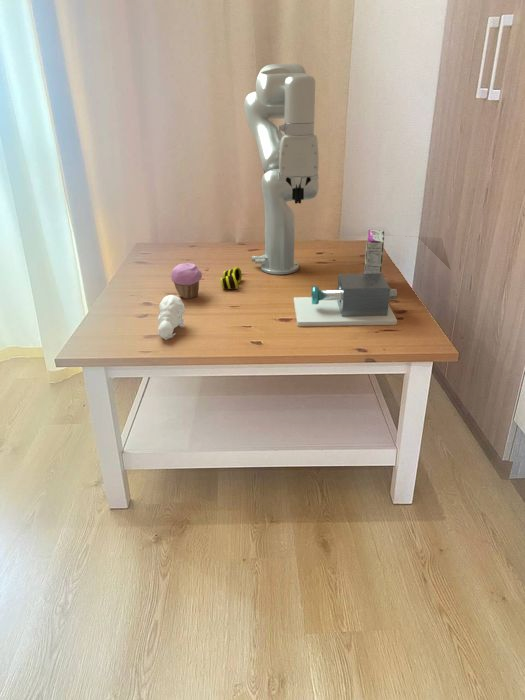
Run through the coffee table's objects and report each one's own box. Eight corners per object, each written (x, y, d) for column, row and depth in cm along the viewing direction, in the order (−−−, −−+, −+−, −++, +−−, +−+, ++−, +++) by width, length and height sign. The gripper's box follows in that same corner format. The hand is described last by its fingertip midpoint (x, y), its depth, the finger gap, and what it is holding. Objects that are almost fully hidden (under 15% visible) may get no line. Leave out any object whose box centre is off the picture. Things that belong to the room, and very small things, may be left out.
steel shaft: (312, 307, 144) (313, 290, 142) (311, 300, 149) (311, 283, 146) (396, 305, 144) (398, 289, 142) (392, 298, 149) (394, 282, 146)
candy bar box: (363, 280, 168) (367, 229, 160) (379, 281, 167) (385, 229, 159) (361, 294, 158) (366, 240, 150) (379, 295, 158) (384, 241, 150)
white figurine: (184, 292, 139) (173, 316, 130) (187, 320, 144) (177, 345, 134) (160, 291, 140) (148, 315, 130) (164, 319, 145) (153, 344, 135)
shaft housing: (342, 316, 143) (343, 288, 139) (336, 300, 152) (338, 274, 148) (387, 315, 143) (390, 287, 139) (379, 300, 152) (382, 273, 148)
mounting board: (297, 326, 141) (297, 322, 140) (293, 301, 155) (293, 297, 154) (396, 324, 141) (397, 320, 140) (383, 299, 155) (384, 295, 154)
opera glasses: (227, 281, 171) (223, 267, 169) (243, 279, 170) (239, 264, 168) (222, 293, 163) (217, 278, 160) (238, 291, 162) (235, 275, 159)
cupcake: (208, 296, 159) (206, 263, 154) (185, 304, 154) (182, 271, 149) (190, 288, 165) (187, 256, 160) (167, 296, 159) (163, 264, 154)
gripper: (270, 132, 134) (270, 206, 143) (330, 131, 134) (326, 205, 143) (269, 128, 140) (269, 199, 149) (326, 127, 140) (323, 198, 149)
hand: (297, 202), depth 146 cm, fingers closed
